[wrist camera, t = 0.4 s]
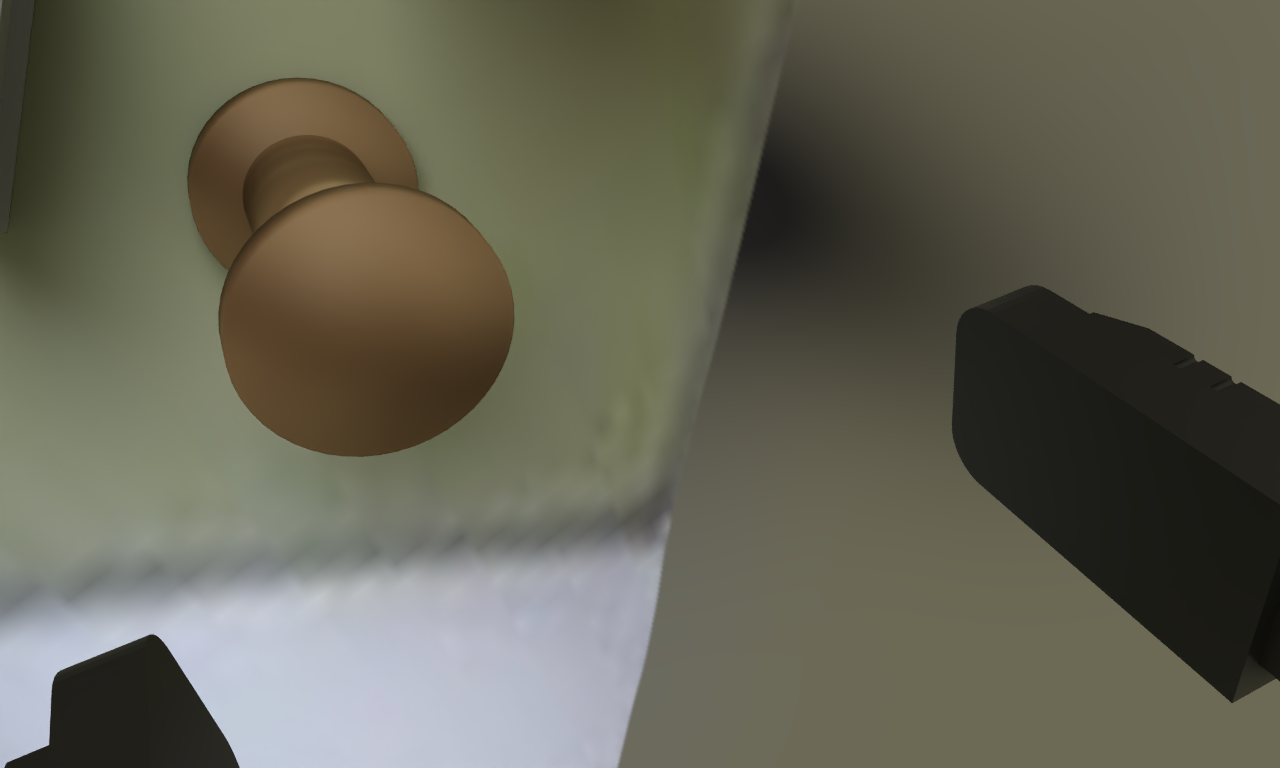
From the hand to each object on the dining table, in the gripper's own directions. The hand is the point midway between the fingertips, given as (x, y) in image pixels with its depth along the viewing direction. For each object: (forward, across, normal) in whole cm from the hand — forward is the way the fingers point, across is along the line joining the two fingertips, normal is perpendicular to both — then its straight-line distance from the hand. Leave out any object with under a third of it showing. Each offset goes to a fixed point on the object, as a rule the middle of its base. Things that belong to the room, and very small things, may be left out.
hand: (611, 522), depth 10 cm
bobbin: (+26, +1, +6) cm, 27 cm away
